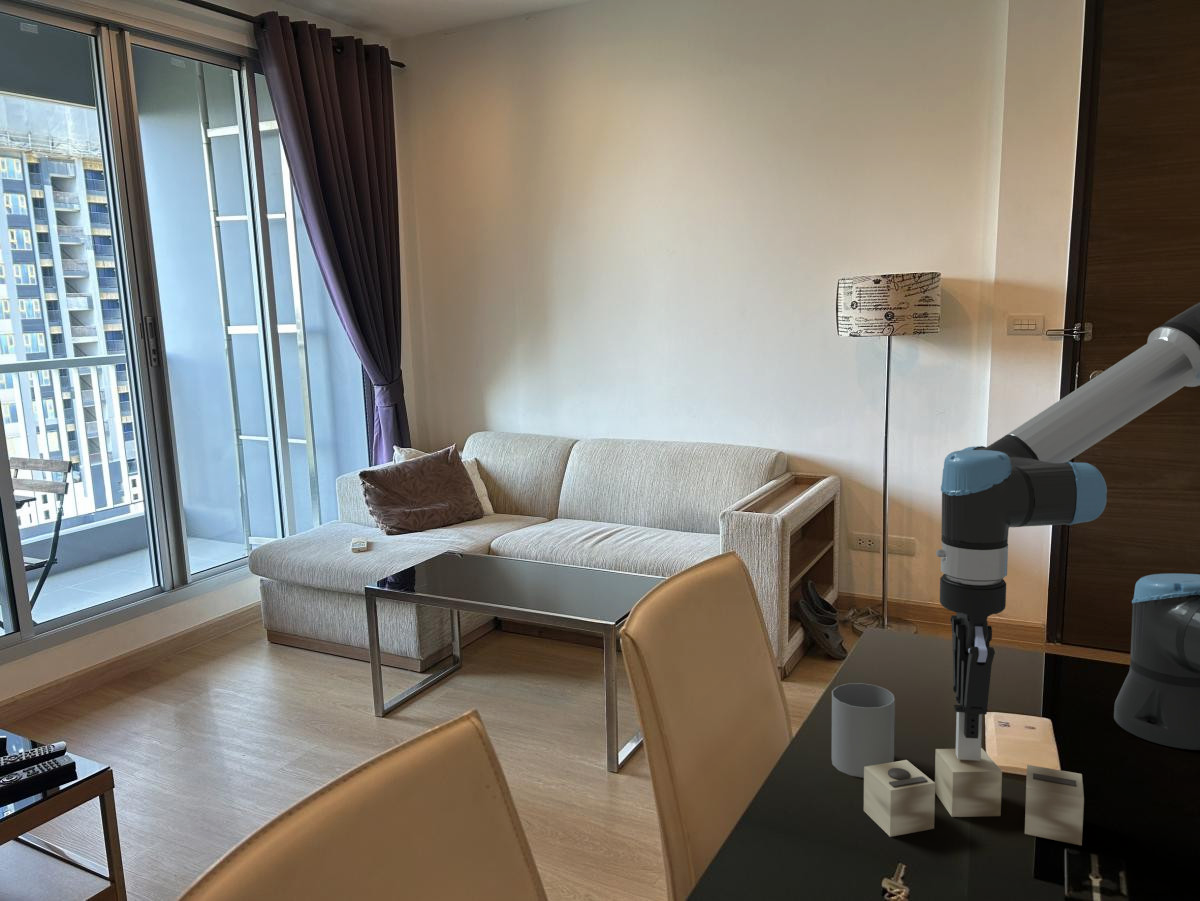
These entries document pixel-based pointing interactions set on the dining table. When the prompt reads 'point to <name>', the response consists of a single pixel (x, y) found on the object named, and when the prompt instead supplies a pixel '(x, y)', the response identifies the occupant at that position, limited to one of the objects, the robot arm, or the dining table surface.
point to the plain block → (968, 784)
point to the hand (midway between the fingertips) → (968, 757)
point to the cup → (862, 727)
